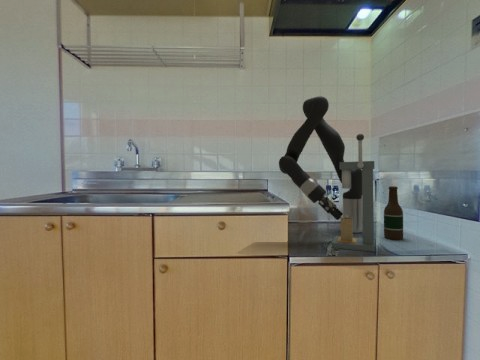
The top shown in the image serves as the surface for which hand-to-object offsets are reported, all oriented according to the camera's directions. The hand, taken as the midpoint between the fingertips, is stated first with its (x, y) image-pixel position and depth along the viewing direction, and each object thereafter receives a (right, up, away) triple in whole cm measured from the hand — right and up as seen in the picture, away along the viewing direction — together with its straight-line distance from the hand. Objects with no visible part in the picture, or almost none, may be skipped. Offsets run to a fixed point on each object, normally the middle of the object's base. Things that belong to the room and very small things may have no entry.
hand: (340, 217), depth 113 cm
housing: (+2, -9, -1) cm, 10 cm away
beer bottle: (+28, -11, +10) cm, 32 cm away
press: (+5, -12, -2) cm, 13 cm away
